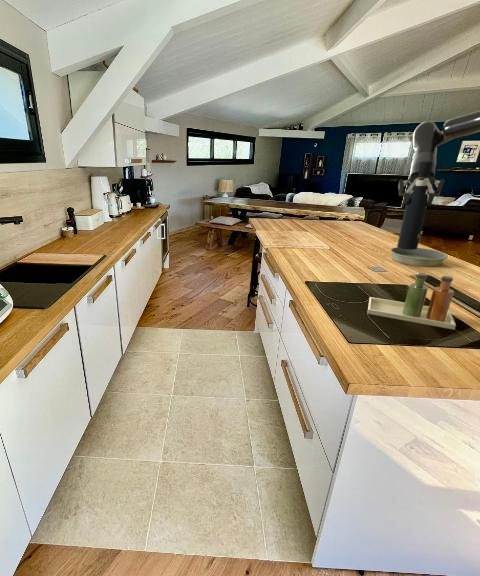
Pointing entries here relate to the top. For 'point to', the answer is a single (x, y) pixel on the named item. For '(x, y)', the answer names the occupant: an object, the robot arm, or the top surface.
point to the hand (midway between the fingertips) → (417, 203)
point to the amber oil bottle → (440, 300)
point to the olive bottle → (415, 296)
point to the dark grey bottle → (415, 211)
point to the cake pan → (418, 256)
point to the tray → (395, 311)
